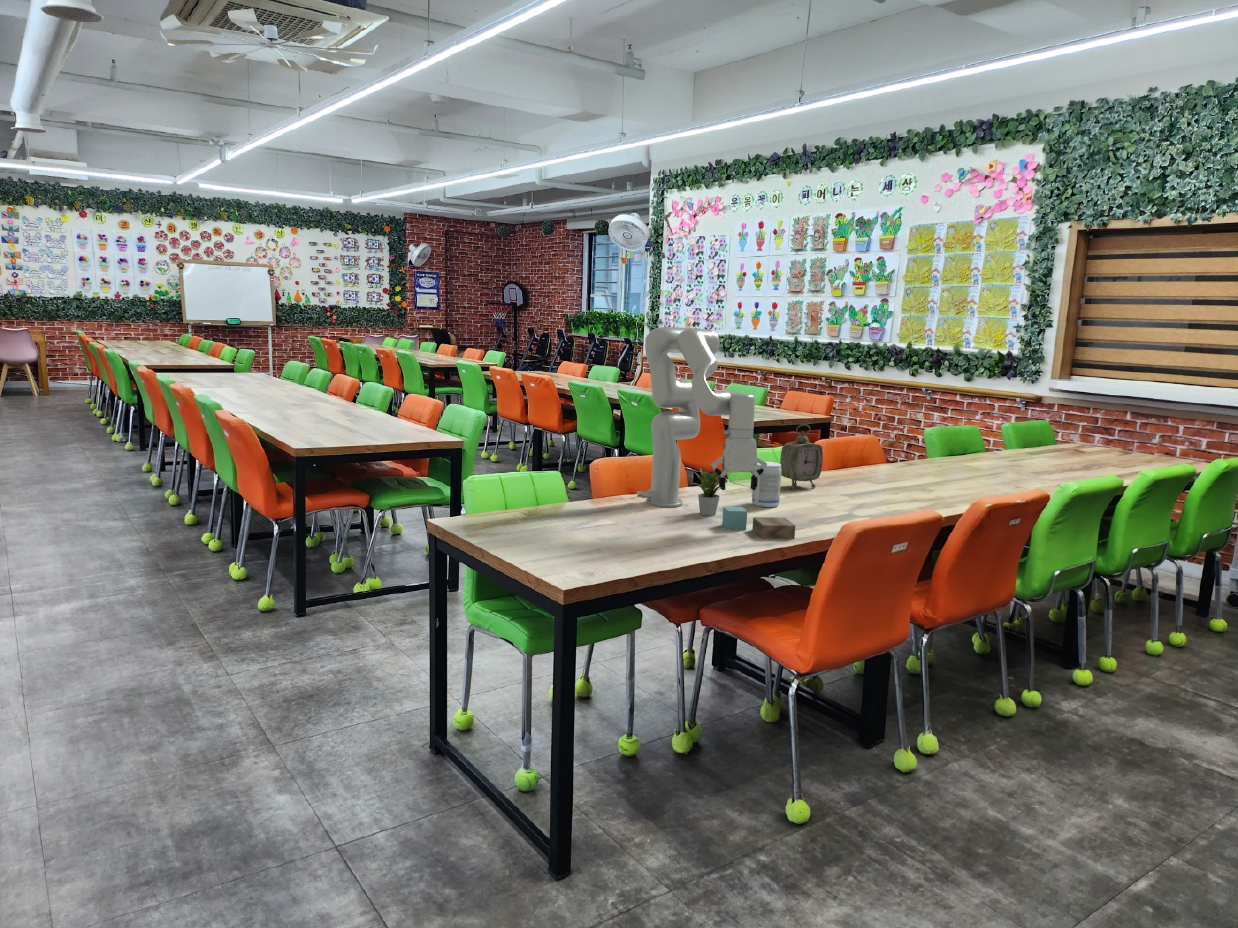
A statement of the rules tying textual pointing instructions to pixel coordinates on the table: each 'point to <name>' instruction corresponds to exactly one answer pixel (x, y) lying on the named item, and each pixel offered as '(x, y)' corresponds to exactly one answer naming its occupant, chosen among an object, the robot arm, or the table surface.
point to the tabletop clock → (801, 459)
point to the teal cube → (734, 518)
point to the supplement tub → (768, 486)
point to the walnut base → (773, 527)
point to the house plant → (708, 493)
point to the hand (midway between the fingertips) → (737, 489)
